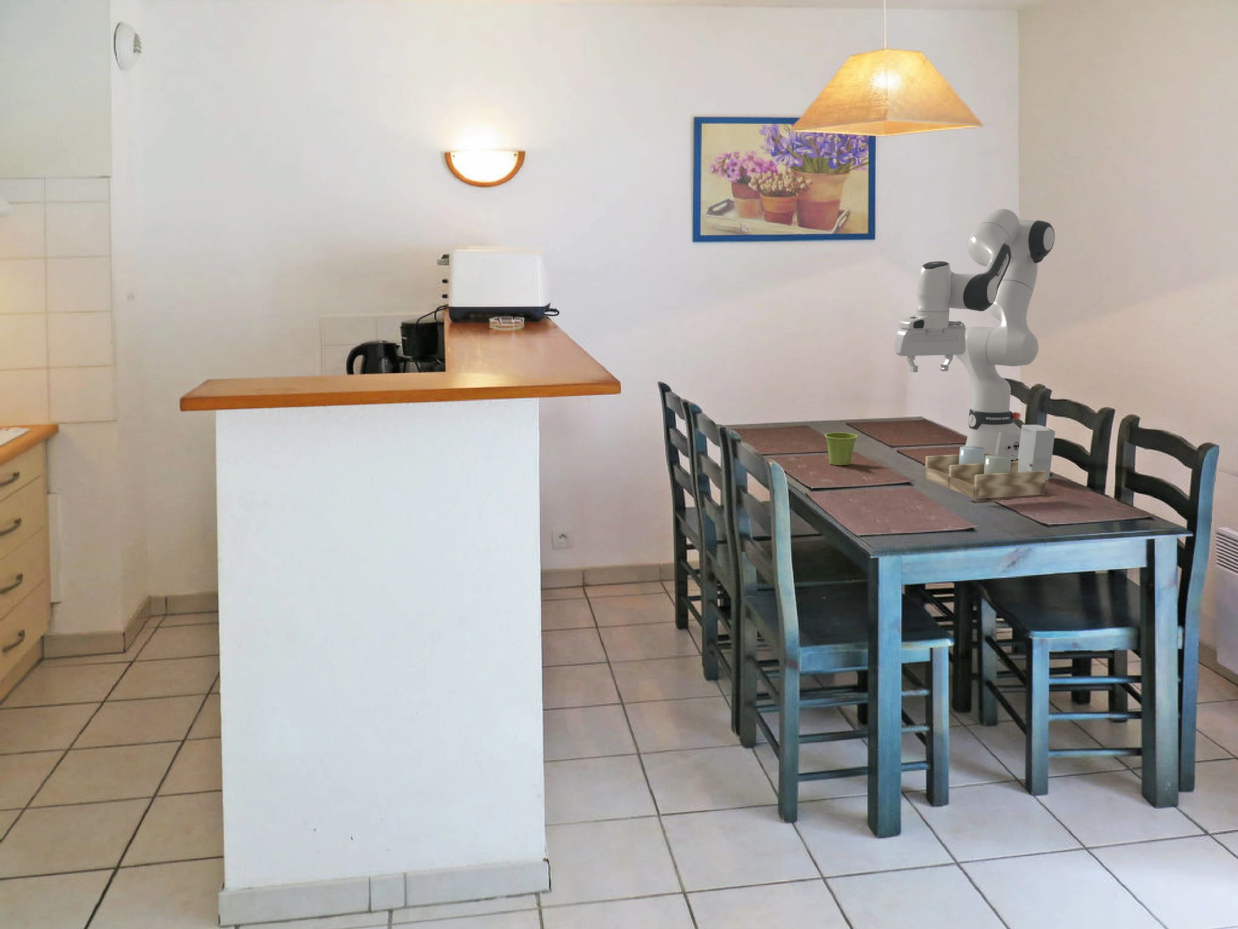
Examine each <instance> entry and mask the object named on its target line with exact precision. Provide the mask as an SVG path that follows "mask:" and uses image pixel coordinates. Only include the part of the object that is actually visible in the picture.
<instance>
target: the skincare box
mask: <svg viewBox="0 0 1238 929" xmlns="http://www.w3.org/2000/svg"><path fill="white" fill-rule="evenodd" d="M1020 429H1021V436H1020V444H1019V452H1018V460H1016V461H1017V462H1018V472H1029V471H1046V480H1048V479H1049V480H1050V474H1051V467H1052V459H1053V451H1054V442H1055V436H1056V431H1055V430H1054V429H1052V428H1049V427H1048V426H1044V425H1041V424H1021V427H1020Z"/></svg>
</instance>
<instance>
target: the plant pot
mask: <svg viewBox="0 0 1238 929" xmlns="http://www.w3.org/2000/svg"><path fill="white" fill-rule="evenodd" d="M824 437H825V440H826V443H827V444H826V445H827V451H828V452H827V453H828V464H829V465H833V466H835V465H845V466H849V464H850V465H851V464H852V463H851V462H852V456H853V450H854V446H855V443H856V440H857V439H858V435H857V434H854V433H850V432H829V433H826V434H824Z"/></svg>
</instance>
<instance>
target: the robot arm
mask: <svg viewBox="0 0 1238 929" xmlns="http://www.w3.org/2000/svg"><path fill="white" fill-rule="evenodd" d="M1055 236H1056V233H1055V229H1054V227H1053V225H1052V224H1051V223H1050V222H1048V221H1045V220H1040V219H1038V220H1030V219H1029V220H1028V219H1019V216H1018V215H1017V214H1016V213H1015V212H1013V211H1012V210H1011V209H1006V208H1000V209H996V210H994V211H993V212H991V213H990V214H988V215H987V216H986V217H984V219H983V220H981V222H979V223H978V225H977V226H976V227H975V229H974V230H973V231H972V232H971V234H969V238H968V239H967V244H966V246H967V252H968V254H969V256H970V257H971V259H972V260H973V261H974V262H975V263H977V265H980V266H982V267H986V268H985V270H984V271H983V272H980V273H955V272H954V271H952V270H951V264H950V263H949V262H947V261H939V260H938V261H929V262H926V263H924V264H922V266H921V268H920V270H919V274H918V281H917V289H916V290H917V292H916V294H917V300H918V301H917V306H916V310H915V314H913V315H910V316H908V317H905V318H903V319H902V318H901V319H900V320H899V321H898V327H899V328H900V329H898V330H897V332H896V334H895V335H896V336H895V343H894V353H895V354H896V355H897V356H899V357H906V361H907V363H908V365H909V372H911V373H918V369H919V365H916V364H915V360H916V357H918V356H919V357H920V356H921V357H923V356H925V357H926V356H927V357H929V356H944V359H945V360H944V362H943V363H942V364H940V368H939V370H940V371H941V372H948V371H949V365H950V364H951V363H952V361H953V359H954V355H955V357H956V358H957V359H958V360H959V361H960V362H961V363H962V364H963V366H964V368H965V369H966V370H967V373H968V375H969V378H970V384H971V408H970V409H969V410H968V411H969V413H968V433H967V438H966V442H965V445H964V446H977V447H982V448H985V453H993V454H997V455H1006V456H1010V457H1011V460H1013V459H1014V460H1013V461H1017V460H1016V458H1017V459H1018V452H1019V444H1020V436H1021V427H1019V426H1018V425H1017V424H1016V423H1015V419H1016V420H1021V418H1022V414H1021V413H1020V412H1017V411H1014V412H1013V411H1011V410H1010V406H1011V403H1010V402H1011V394H1012V393H1011V391H1012V389H1011V384H1010V382H1009V381H1007V379H1005V378H1004V377H1002V376H1001V375H1000V374H999V373H998V371H997V368H996V366H1003V367H1004V366H1006V367H1021V366H1028V365H1030V364H1032V363H1033V362H1034V361H1035V359H1036V358H1037V356H1038V353H1039V342H1038V339H1037V337H1036V335H1035V334H1034V333H1033V332H1032V331H1031V329H1030V328H1029V325H1028V323H1027V314H1028V311H1029V310H1028V309H1029V308H1030V306H1029V305H1030V303H1031V300H1032V296H1033V293H1034V289H1035V286H1036V282H1037V278H1038V277H1037V276H1038V268H1039V265H1038V263H1041V262H1042V261H1043V260H1044V258H1045V257H1047V256H1048V255H1049V253H1050V252H1051V250H1052V249H1053V247H1054V245H1055V239H1056V237H1055ZM950 309H954V310H955V309H956V310H957V309H958V310H959V309H960V310H969V311H976V312H977V311H978V312H985V311H986V310H989V312H990V313H991V315H992V316H993V317H994V318H995V319H997V320H998V321H999V325H998V327H988V326H987V327H986V326H985V327H984V326H971V327H970V326H969V327H967V326H966V324H964V322H962V321H961V320H960V321H959V320H956V321H953V320H950ZM1011 455H1013V456H1011Z"/></svg>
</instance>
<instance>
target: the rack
mask: <svg viewBox="0 0 1238 929" xmlns="http://www.w3.org/2000/svg"><path fill="white" fill-rule="evenodd" d="M991 454H993V453H984V463H979V464H961V465H959V454H944V455H928V456H927V455H925V464H924V465H925V466H924V479H925V480H929V481H931V482H933V483H936V484H938V485H941V486H943V487H945V488H948V489H950V490H952V491H955V492H957V493H960V494H963V495H965V496H967V497H969V498H972V499H974V500H970V502H971V503H973V504H983V503H984V504H985V503H988V504H989V503H997V502H996V501H1001V500H1012V499H1020V498H1029V497H1030V496H1036V497H1044V498H1045V490H1046V481H1045V480H1046V471H1029V472H1018V462H1017V460H1013V461H1011V466H1010V473H996V474H984V465H985V456H986V455H991ZM1026 496H1027V497H1026ZM1008 497H1009V498H1008ZM977 499H978V500H977ZM979 499H980V500H979Z"/></svg>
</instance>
